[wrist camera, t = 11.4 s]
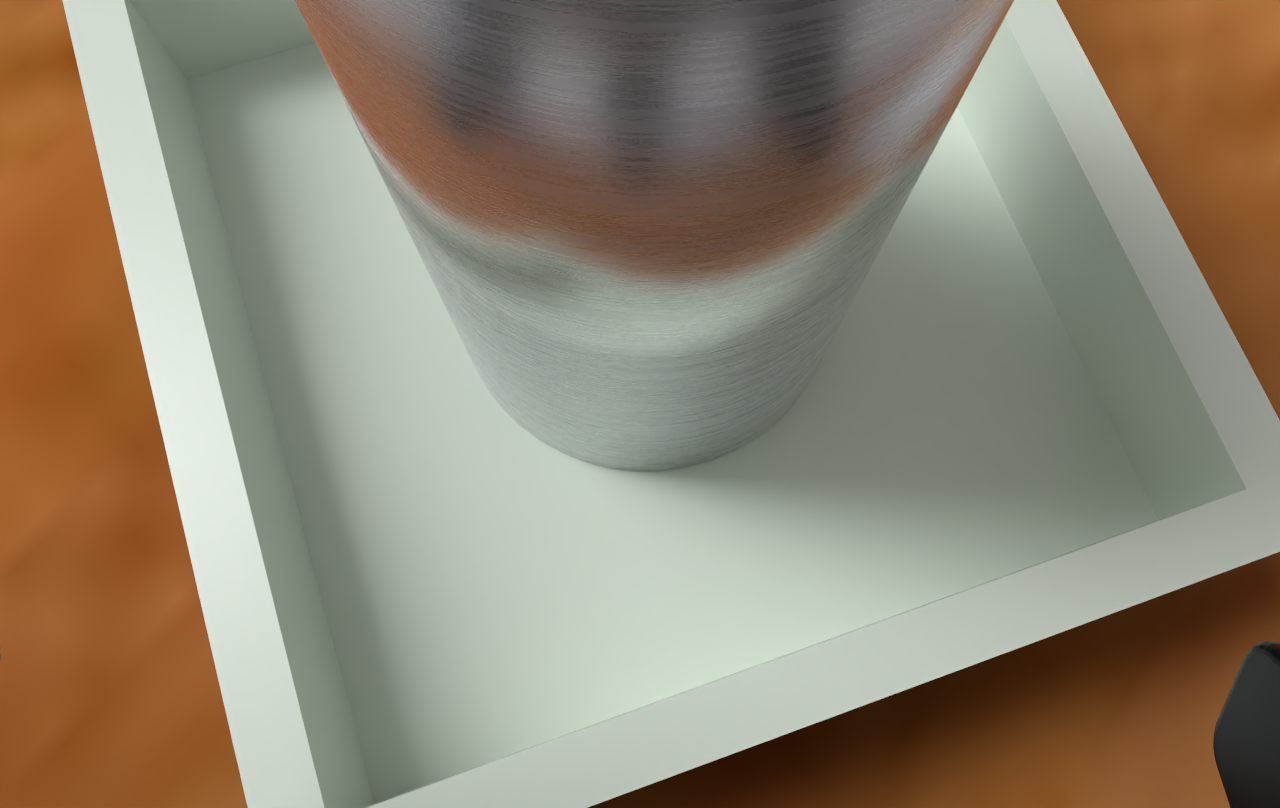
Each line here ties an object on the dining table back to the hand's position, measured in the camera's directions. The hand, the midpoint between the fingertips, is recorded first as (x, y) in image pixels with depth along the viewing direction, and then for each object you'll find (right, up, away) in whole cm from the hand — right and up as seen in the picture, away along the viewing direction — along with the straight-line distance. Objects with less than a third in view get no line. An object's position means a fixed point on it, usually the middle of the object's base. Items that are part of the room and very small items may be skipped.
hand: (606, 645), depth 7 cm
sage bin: (0, +3, +9) cm, 10 cm away
